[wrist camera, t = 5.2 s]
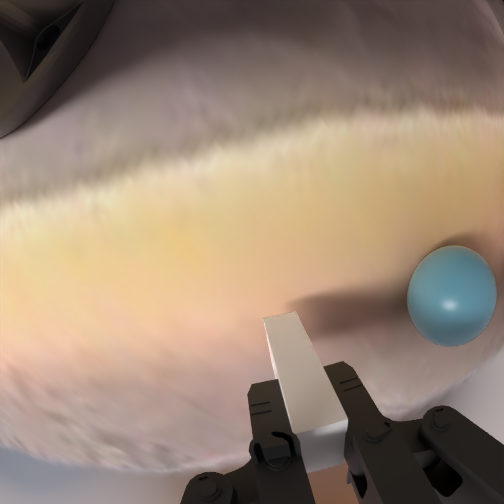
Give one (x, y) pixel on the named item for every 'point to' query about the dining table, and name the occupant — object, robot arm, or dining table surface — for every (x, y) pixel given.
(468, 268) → the blue ball
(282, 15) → the dining table surface
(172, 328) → the dining table surface
